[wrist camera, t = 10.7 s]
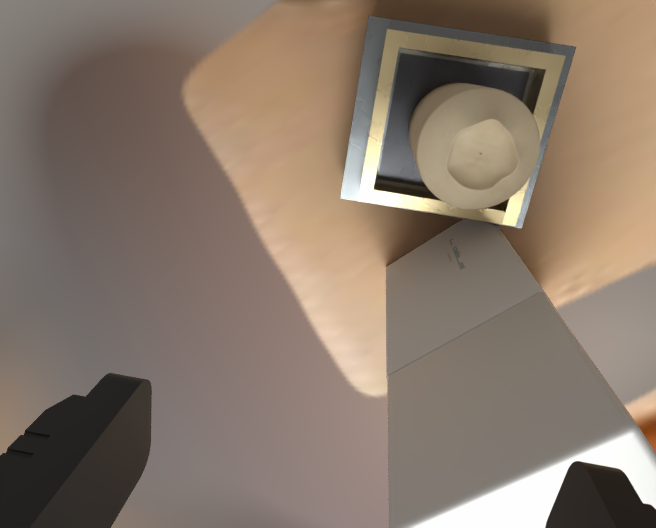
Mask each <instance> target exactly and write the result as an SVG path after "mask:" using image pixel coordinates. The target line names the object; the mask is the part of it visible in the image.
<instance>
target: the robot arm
mask: <svg viewBox="0 0 656 528" xmlns="http://www.w3.org/2000/svg"><path fill="white" fill-rule="evenodd" d="M151 390H152V389H151V383H150V381H149V380H146V379H140V378H135V377H130V376H124V375H119V374H113V373H109V374H107V375H105V376H104V378H102V379H101V380H100V381H99V383H98V384H97V385H96V386H95V387H94V388H93V389H92V390H91V391H90V393H89V394H88V395H87V396H86V397H84V396H78V395H72V396H70V397H68V398H66V399H65V400H63V401H61V402H59V403H57V404H56V405H54V406H52V407H50V408H48V409H46V410H45V411H44V412H43V413H42V414H41V415H40V416H39V417H38V418H37V419H36V420H35V421H34V422H33V423H32V424H31V425H30V426H29V427H28V428H27V429H26V430H25V433H24V435H20V436H19V437H18V438H17V440H15V441H14V443H12V444H11V445H10V446H9V447H8V449H7V452H6V453H3V454H2V455H1V456H0V528H111V526H112V524H113V523H114V521H115V519H116V518H117V516H118V514H119V513H120V511H121V509H122V508H123V506H124V504H125V502H126V501H127V499H128V497H129V496H130V494H131V492H132V491H133V489H134V487H135V486H136V484H137V482H138V481H139V479H140V477H141V475H142V473H143V471H144V468H145V466H146V463H147V460H148V456H149V452H150V445H151V395H152V391H151ZM545 528H656V509H655V508H654V507H653V506H652V505H650V504H645V503H643V502H642V501H641V499H640V497H639V496H638V494H637V492H636V491H635V489H634V487H633V486H632V484H631V482H630V480H629V479H628V477H627V476H626V474H625V473H624V472H623V471H622V470H620V469H618V468H613V467H608V466H602V465H597V464H591V463H586V462H581V461H575V462H573V463H572V464H571V465H570V467H569V468H568V470H567V473H566V475H565V478H564V480H563V483H562V485H561V487H560V490H559V492H558V495H557V497H556V499H555V502H554V504H553V507H552V509H551V512H550V514H549V516H548V519H547V522H546V526H545Z"/></svg>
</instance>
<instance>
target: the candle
mask: <svg viewBox="0 0 656 528" xmlns="http://www.w3.org/2000/svg"><path fill="white" fill-rule="evenodd" d="M409 142H410V146H411V150H412V153H413V155H414V158H415V161H416V164H417V167H418V170H419V172H420V175H421V178H422V180H423V181H424V183H425V185H426V186H427V187H428V189H429V190H430V191H431V192H432V193H433V194H434V195H435V196H436V197H437V198H439V199H440V200H441V201H443V202H445V203H447V204H449V205H452V206H454V207H458V208H462V209H483V208H488V207H492V206H495V205H497V204H500V203H502V202H504V201H506V200H507V199H509V198H510V197H512V196H513V195H514V194H516V193H517V192H518V191H519V190H520V189H521V188H522V187H523V186H524V185H525V183H526V182H527V181H528V179H529V178H530V176H531V174H532V173H533V171H534V169H535V166H536V164H537V160H538V156H539V151H540V135H539V130H538V126H537V123H536V121H535V119H534V116H533V115H532V113H531V112H530V110H529V109H528V108H527V106H526V105H525V104H524V103H523V102H522V101H520V100H519V99H518V98H517V97H515V96H513V95H512V94H510V93H508V92H505V91H503V90H499V89H495V88H490V87H485V86H479V85H474V84H469V83H450V84H446V85H442V86H440V87H438V88H435V89H434V90H432V91H431V92H429V93H428V94H427V95H426V96H424V98H423V99H422V100H421V101H420V102H419V103H418V105H417V106H416V108H415V110H414V112H413V114H412V116H411V120H410V123H409Z"/></svg>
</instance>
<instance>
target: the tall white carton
mask: <svg viewBox="0 0 656 528" xmlns="http://www.w3.org/2000/svg"><path fill="white" fill-rule="evenodd" d="M386 356H387V381H388V475H389V476H388V477H389V479H388V480H389V481H388V482H389V528H545V526H546V522H547V519H548V516H549V514H550V512H551V509H552V507H553V504H554V502H555V499H556V497H557V495H558V492H559V490H560V487H561V485H562V483H563V480H564V478H565V475H566V473H567V470H568V468H569V467H570V465H571V464H572V463H573V462H575V461H581V462H586V463H591V464H597V465H602V466H608V467H613V468H618V469H620V470H622V471H623V472H624V473H625V474H626V476H627V477H628V479H629V480H630V482H631V484H632V486H633V487H634V489H635V491H636V492H637V494H638V496H639V497H640V499H641V501H642V502H643V503H645V504H650V505H652V506H653V507H654V508H655V509H656V453H655V451H654V450H653V448H652V447H651V445H650V444H649V442H648V440H647V439H646V437H645V436H644V434H643V433H642V431H641V429H640V428H639V426H638V425H637V423H636V422H635V421H634V419H633V418H632V416H631V415H630V414H629V412H628V411H627V409H626V408H625V406H624V405H623V404H622V402H621V401H620V399H619V398H618V397H617V395H616V394H615V392H614V391H613V390H612V388H611V387H610V385H609V384H608V382H607V381H606V380H605V378H604V377H603V375H602V374H601V373H600V371H599V370H598V368H597V367H596V366H595V364H594V363H593V361H592V360H591V358H590V357H589V356H588V354H587V353H586V351H585V350H584V349H583V347H582V346H581V344H580V343H579V342H578V340H577V339H576V337H575V336H574V334H573V333H572V332H571V330H570V329H569V328H568V326H567V325H566V323H565V322H564V320H563V319H562V318H561V316H560V315H559V313H558V312H557V310H556V309H555V307H554V306H553V304H552V302H551V301H550V299H549V298H548V296H547V295H546V293H545V292H544V291H543V289H542V288H541V286H540V285H539V284H538V282H537V281H536V279H535V278H534V277H533V275H532V274H531V272H530V271H529V269H528V268H527V267H526V265H525V264H524V262H523V261H522V260H521V258H520V257H519V255H518V254H517V253H516V251H515V250H514V248H513V247H512V246H511V244H510V243H509V241H508V240H507V239H506V237H505V236H504V234H503V233H502V232H501V230H500V229H499V227H498V226H497V225H496V224H492V223H486V222H480V221H474V220H468V219H462V220H460V221H459V222H457V223H455V224H454V225H452V226H451V227H449V228H447V229H446V230H444V231H443V232H441V233H439V234H438V235H436V236H435V237H433V238H431V239H430V240H428V241H427V242H425V243H423V244H422V245H420V246H419V247H417V248H415V249H414V250H412V251H411V252H409V253H407V254H406V255H404V256H403V257H401V258H399V259H398V260H396V261H395V262H393V263H391V264H390V265H388V266H387V267H386Z"/></svg>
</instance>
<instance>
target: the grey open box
mask: <svg viewBox="0 0 656 528" xmlns="http://www.w3.org/2000/svg"><path fill="white" fill-rule="evenodd" d="M575 49H576V47H574V46H567V45H560V44H554V43H547V42H540V41H534V40H527V39H520V38H514V37H507V36H501V35H494V34H487V33H481V32H474V31H467V30H461V29H454V28H447V27H441V26H434V25H427V24H421V23H414V22H407V21H401V20H394V19H387V18H381V17H374V16H369V17H368V24H367V30H366V37H365V43H364V49H363V56H362V62H361V69H360V75H359V81H358V88H357V94H356V101H355V107H354V113H353V120H352V126H351V133H350V139H349V146H348V152H347V158H346V165H345V171H344V178H343V184H342V190H341V197H340V198H341V199H347V200H353V201H359V202H365V203H371V204H377V205H383V206H389V207H395V208H401V209H407V210H413V211H419V212H425V213H431V214H437V215H444V216H450V217H456V218H462V219H468V220H474V221H480V222H486V223H492V224H498V225H504V226H510V227H516V228H522V226H523V222H524V219H525V216H526V212H527V209H528V206H529V202H530V199H531V196H532V192H533V189H534V186H535V182H536V179H537V176H538V172H539V169H540V166H541V163H542V159H543V156H544V153H545V149H546V146H547V143H548V139H549V136H550V133H551V129H552V126H553V123H554V119H555V116H556V113H557V109H558V106H559V103H560V99H561V96H562V93H563V89H564V86H565V83H566V79H567V76H568V73H569V69H570V66H571V63H572V59H573V56H574V53H575ZM450 83H469V84H474V85H479V86H485V87H490V88H495V89H499V90H503V91H505V92H508V93H510V94H512V95H513V96H515V97H517V98H518V99H519V100H520V101H522V102H523V103H524V104H525V105H526V106H527V108H528V109H529V110H530V112H531V113H532V115H533V116H534V119H535V121H536V123H537V126H538V130H539V135H540V151H539V156H538V160H537V164H536V166H535V169H534V171H533V173H532V174H531V176H530V178H529V179H528V181H527V182H526V183H525V185H524V186H523V187H522V188H521V189H520V190H519V191H518V192H517V193H516V194H514V195H513V196H512V197H510V198H509V199H507V200H506V201H504V202H502V203H500V204H497V205H495V206H492V207H488V208H483V209H462V208H458V207H454V206H452V205H449V204H447V203H445V202H443V201H441V200H440V199H439V198H437V197H436V196H435V195H434V194H433V193H432V192H431V191H430V190H429V189H428V187H427V186H426V185H425V183H424V181H423V180H422V178H421V175H420V172H419V170H418V167H417V164H416V161H415V158H414V155H413V153H412V150H411V146H410V142H409V123H410V120H411V116H412V114H413V112H414V110H415V108H416V106H417V105H418V103H419V102H420V101H421V100H422V99H423V98H424V96H426V95H427V94H428V93H429V92H431V91H432V90H434V89H435V88H438V87H440V86H442V85H446V84H450Z"/></svg>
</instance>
